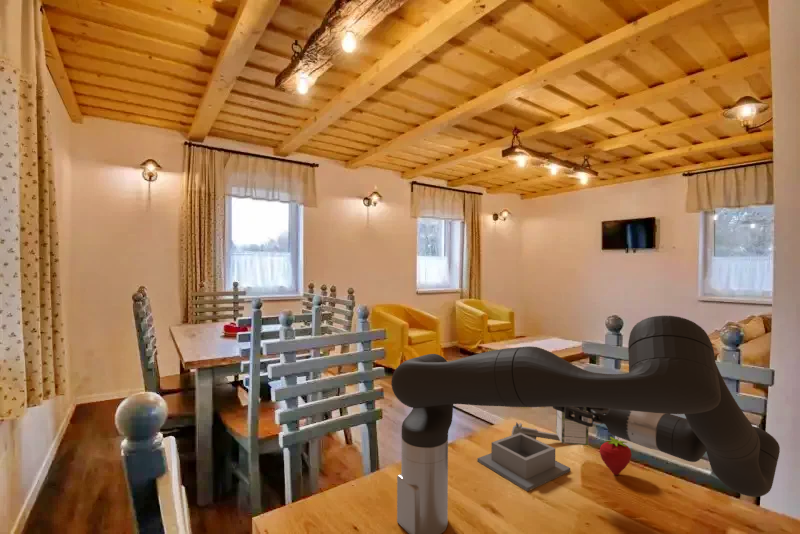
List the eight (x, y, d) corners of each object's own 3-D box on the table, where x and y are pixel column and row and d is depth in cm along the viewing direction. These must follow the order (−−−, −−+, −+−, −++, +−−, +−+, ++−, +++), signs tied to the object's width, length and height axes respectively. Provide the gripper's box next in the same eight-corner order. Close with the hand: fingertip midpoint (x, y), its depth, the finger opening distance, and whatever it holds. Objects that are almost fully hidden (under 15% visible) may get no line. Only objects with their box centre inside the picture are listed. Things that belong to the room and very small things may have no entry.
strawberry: (593, 469, 100) (593, 429, 100) (619, 466, 102) (620, 427, 101) (610, 482, 94) (610, 440, 94) (637, 479, 96) (638, 437, 96)
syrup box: (581, 435, 93) (582, 372, 93) (589, 446, 87) (589, 379, 87) (555, 433, 94) (556, 371, 94) (561, 444, 88) (561, 378, 88)
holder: (527, 491, 91) (527, 468, 91) (477, 461, 104) (477, 441, 104) (570, 471, 99) (570, 449, 99) (519, 445, 113) (519, 427, 113)
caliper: (512, 445, 114) (512, 423, 113) (511, 443, 115) (511, 422, 114) (582, 443, 115) (582, 422, 115) (580, 441, 116) (580, 420, 116)
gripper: (619, 452, 74) (544, 422, 88) (656, 434, 82) (583, 409, 96) (619, 412, 74) (545, 388, 88) (657, 398, 82) (583, 378, 96)
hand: (564, 399), depth 92 cm, fingers closed on syrup box, 8 cm apart
